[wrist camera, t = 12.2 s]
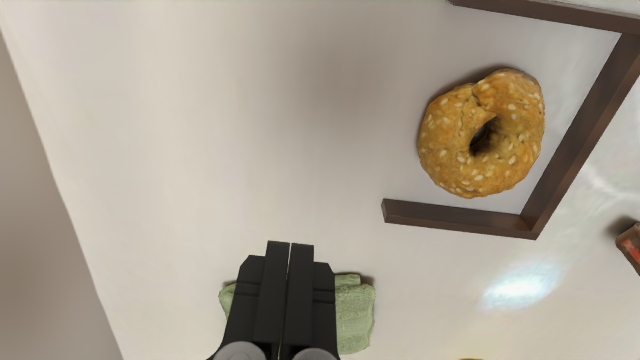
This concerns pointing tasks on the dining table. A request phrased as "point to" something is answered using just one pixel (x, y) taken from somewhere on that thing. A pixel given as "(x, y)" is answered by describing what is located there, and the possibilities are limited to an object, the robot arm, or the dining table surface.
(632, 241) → the tin
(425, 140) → the bagel
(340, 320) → the washcloth
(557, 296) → the dining table surface
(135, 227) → the dining table surface
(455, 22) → the dining table surface
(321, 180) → the dining table surface
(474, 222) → the bay
